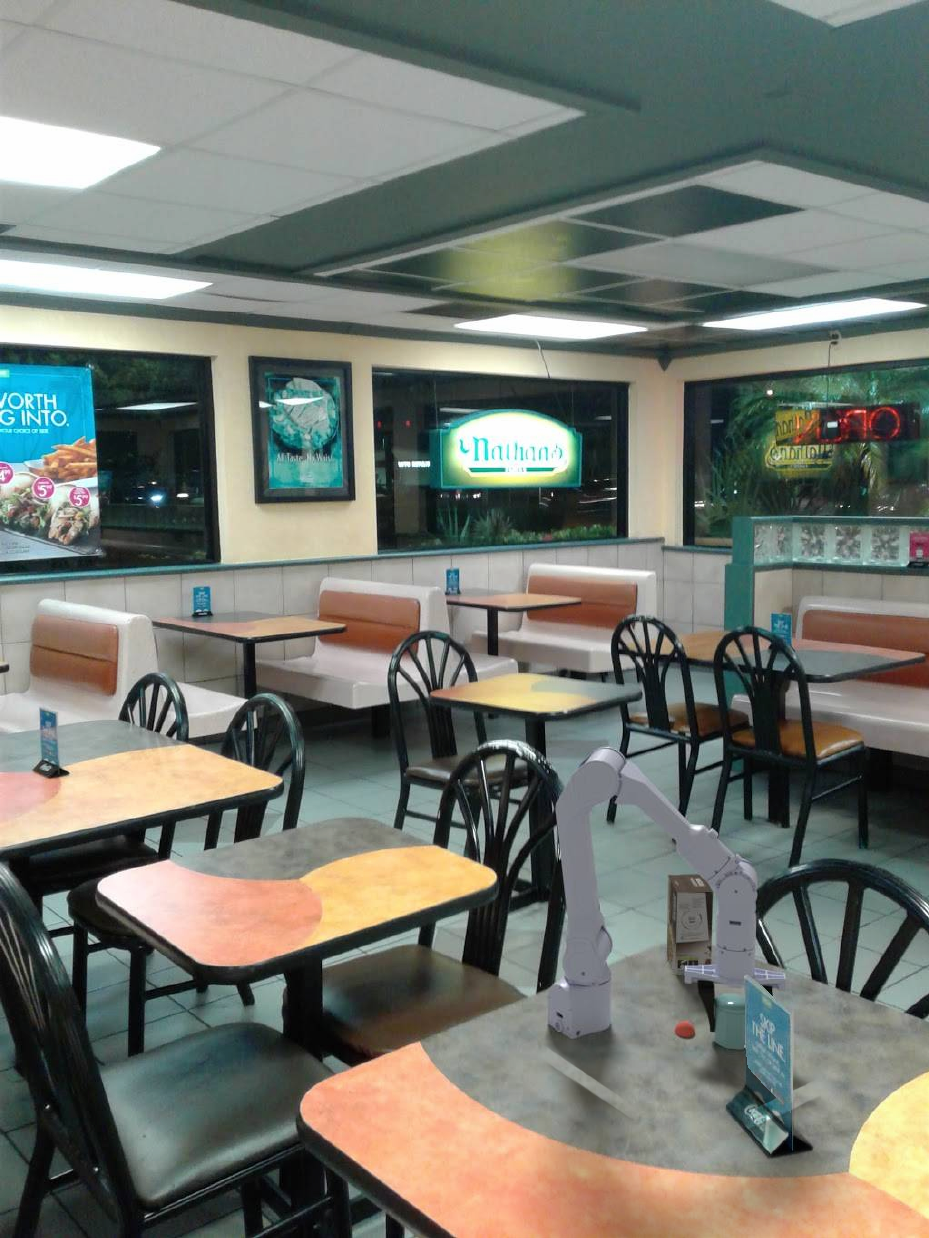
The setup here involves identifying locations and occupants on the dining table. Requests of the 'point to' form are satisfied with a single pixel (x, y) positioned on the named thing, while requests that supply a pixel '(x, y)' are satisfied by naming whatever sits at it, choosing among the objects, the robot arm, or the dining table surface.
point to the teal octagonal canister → (730, 1021)
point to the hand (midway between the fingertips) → (733, 1030)
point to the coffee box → (689, 922)
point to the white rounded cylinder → (727, 989)
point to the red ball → (684, 1029)
